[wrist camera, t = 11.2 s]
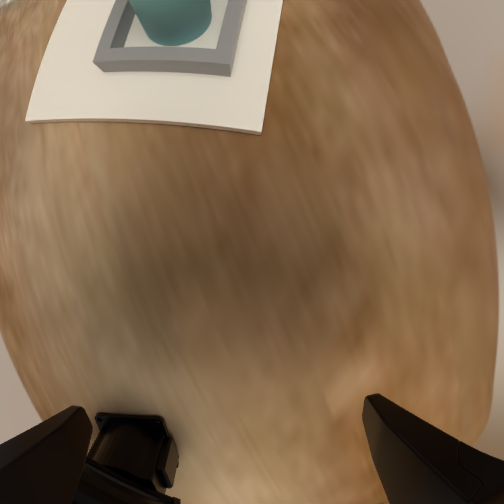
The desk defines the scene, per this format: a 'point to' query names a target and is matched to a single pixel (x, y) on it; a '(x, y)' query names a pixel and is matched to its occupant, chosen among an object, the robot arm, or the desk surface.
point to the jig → (157, 68)
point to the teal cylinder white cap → (173, 19)
